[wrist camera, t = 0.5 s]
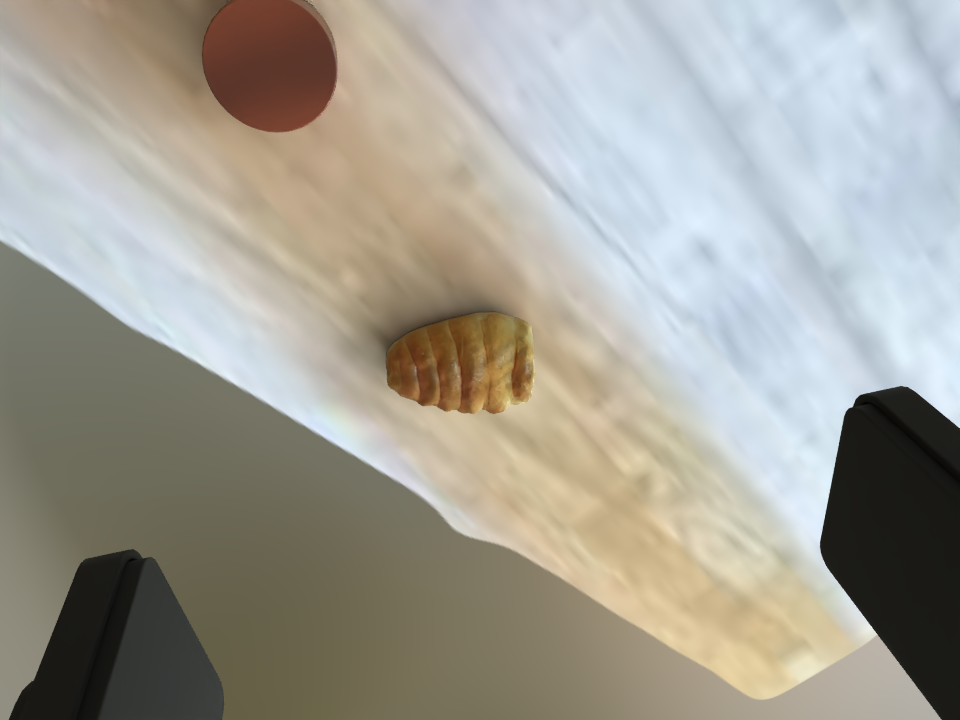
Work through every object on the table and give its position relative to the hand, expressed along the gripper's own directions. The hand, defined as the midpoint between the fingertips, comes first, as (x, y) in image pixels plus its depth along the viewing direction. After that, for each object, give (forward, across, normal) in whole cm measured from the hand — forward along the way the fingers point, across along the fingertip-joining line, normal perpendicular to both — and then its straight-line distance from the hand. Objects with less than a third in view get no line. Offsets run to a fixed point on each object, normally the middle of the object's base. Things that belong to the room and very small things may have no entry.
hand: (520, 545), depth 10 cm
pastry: (+33, -2, +18) cm, 37 cm away
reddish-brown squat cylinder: (+33, +5, -2) cm, 33 cm away
